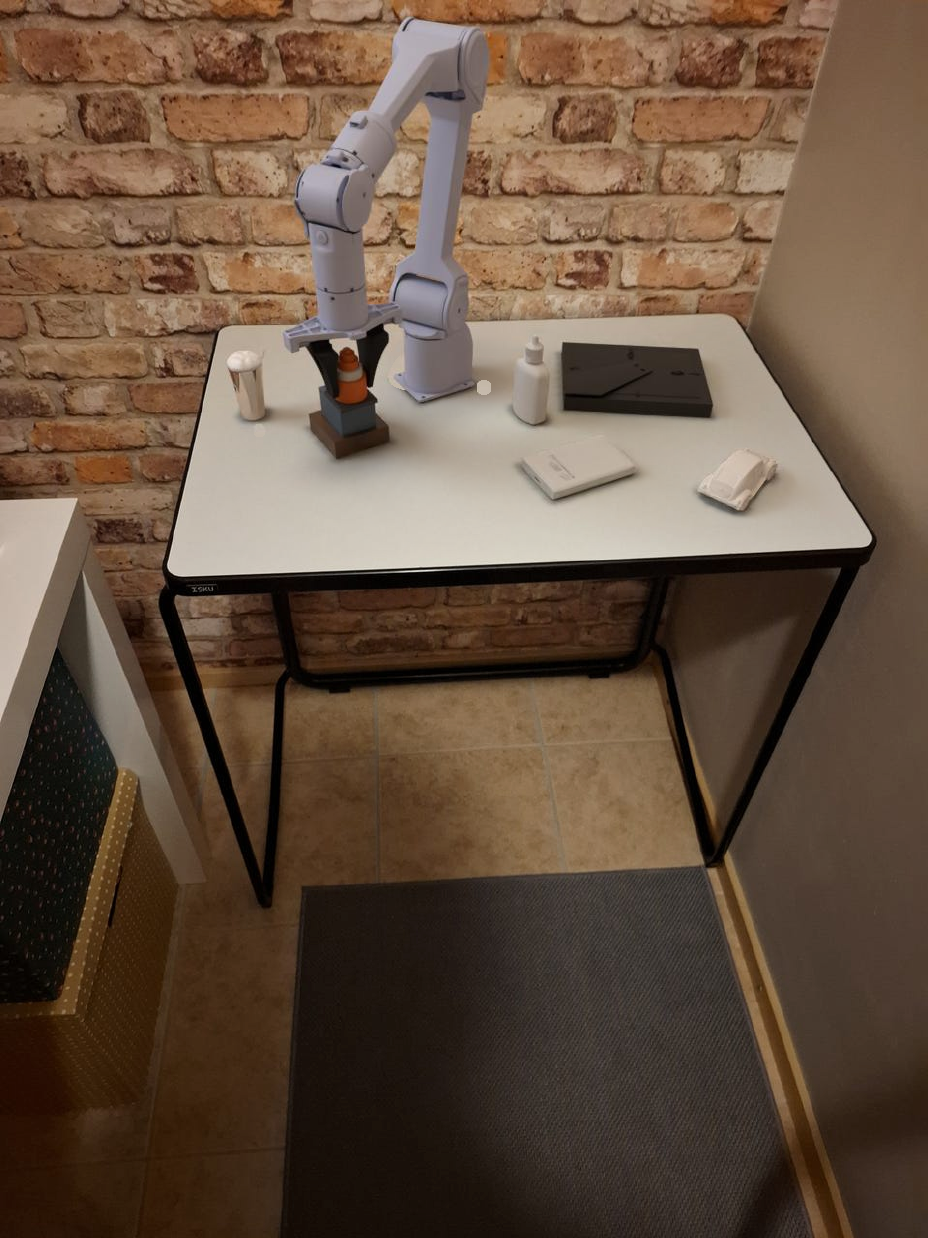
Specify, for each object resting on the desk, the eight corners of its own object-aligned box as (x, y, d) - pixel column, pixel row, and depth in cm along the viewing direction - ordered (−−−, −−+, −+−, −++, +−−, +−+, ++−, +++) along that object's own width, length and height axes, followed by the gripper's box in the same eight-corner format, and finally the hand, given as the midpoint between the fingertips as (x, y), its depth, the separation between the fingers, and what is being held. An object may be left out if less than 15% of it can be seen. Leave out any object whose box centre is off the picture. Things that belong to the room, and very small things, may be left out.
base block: (362, 413, 120) (361, 397, 118) (389, 441, 115) (389, 425, 114) (310, 429, 117) (308, 413, 115) (336, 459, 112) (334, 443, 111)
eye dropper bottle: (541, 403, 123) (549, 325, 114) (546, 425, 119) (554, 346, 110) (511, 404, 122) (516, 325, 114) (515, 426, 119) (521, 346, 110)
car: (737, 518, 106) (746, 488, 102) (692, 497, 108) (700, 467, 105) (780, 474, 112) (791, 444, 109) (737, 455, 115) (746, 426, 111)
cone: (359, 384, 109) (355, 333, 104) (378, 402, 107) (374, 351, 101) (324, 394, 108) (318, 343, 102) (341, 414, 105) (336, 362, 100)
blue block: (354, 403, 117) (352, 376, 114) (376, 426, 113) (375, 399, 111) (321, 413, 115) (318, 386, 112) (342, 437, 112) (340, 410, 109)
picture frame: (563, 410, 122) (709, 417, 121) (565, 392, 120) (714, 399, 119) (561, 354, 132) (695, 360, 132) (562, 337, 130) (699, 344, 130)
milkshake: (269, 426, 117) (257, 359, 110) (232, 421, 118) (218, 354, 111) (280, 408, 120) (270, 342, 113) (244, 403, 121) (232, 337, 114)
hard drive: (634, 475, 111) (553, 501, 107) (598, 442, 116) (520, 466, 112) (636, 465, 110) (554, 491, 106) (600, 432, 115) (521, 456, 111)
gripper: (295, 311, 91) (309, 421, 101) (414, 281, 97) (416, 388, 106) (269, 285, 95) (285, 393, 105) (384, 258, 101) (389, 362, 111)
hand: (349, 389), depth 106 cm, fingers closed on cone, 4 cm apart
